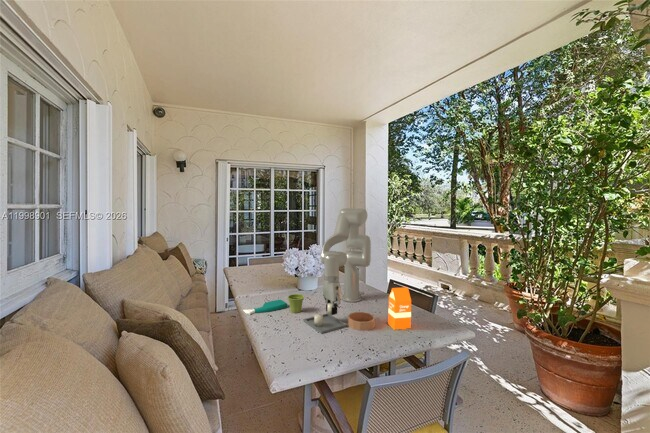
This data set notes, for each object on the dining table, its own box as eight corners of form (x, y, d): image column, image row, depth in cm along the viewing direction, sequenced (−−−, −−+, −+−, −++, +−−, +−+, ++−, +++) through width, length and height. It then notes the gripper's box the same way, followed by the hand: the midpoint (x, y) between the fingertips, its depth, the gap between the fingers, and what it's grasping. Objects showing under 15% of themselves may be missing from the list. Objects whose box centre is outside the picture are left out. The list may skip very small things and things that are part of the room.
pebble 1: (319, 322, 150) (320, 313, 150) (324, 325, 147) (324, 316, 146) (312, 324, 148) (312, 315, 148) (317, 327, 144) (317, 317, 144)
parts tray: (327, 315, 161) (327, 313, 161) (347, 327, 146) (347, 324, 146) (303, 322, 152) (303, 319, 152) (321, 334, 138) (321, 331, 138)
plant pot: (301, 315, 162) (301, 299, 161) (285, 313, 164) (285, 298, 163) (305, 309, 171) (306, 294, 170) (290, 308, 173) (290, 293, 172)
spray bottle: (288, 308, 173) (249, 318, 159) (279, 303, 182) (241, 312, 167) (288, 303, 173) (249, 313, 158) (279, 298, 182) (241, 307, 167)
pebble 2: (332, 311, 155) (332, 301, 155) (337, 313, 152) (337, 304, 151) (325, 312, 153) (325, 303, 152) (330, 315, 149) (330, 306, 149)
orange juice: (387, 323, 151) (388, 285, 150) (403, 322, 153) (404, 285, 152) (394, 330, 144) (395, 290, 143) (410, 328, 146) (411, 289, 145)
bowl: (362, 318, 158) (362, 310, 158) (380, 327, 147) (380, 318, 147) (342, 323, 151) (342, 315, 150) (359, 333, 139) (359, 324, 139)
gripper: (347, 281, 146) (347, 316, 147) (328, 273, 160) (328, 305, 161) (335, 283, 142) (335, 319, 143) (316, 275, 156) (316, 308, 157)
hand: (331, 312), depth 152 cm, fingers closed on pebble 2, 4 cm apart
